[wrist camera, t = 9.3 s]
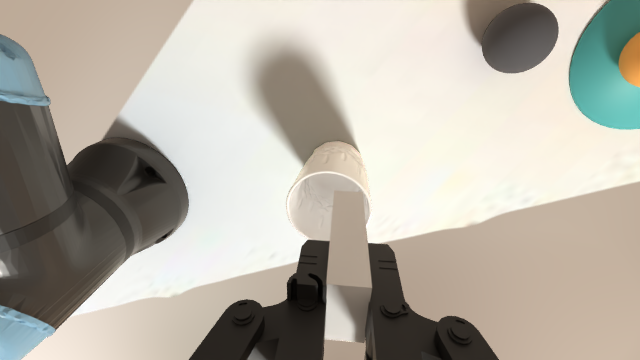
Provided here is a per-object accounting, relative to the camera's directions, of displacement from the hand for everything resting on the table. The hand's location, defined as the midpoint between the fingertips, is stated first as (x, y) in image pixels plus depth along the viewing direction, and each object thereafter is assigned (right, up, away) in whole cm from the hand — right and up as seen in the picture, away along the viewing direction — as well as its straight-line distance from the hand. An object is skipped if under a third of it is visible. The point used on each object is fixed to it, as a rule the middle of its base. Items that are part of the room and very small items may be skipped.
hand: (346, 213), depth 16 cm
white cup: (+1, +3, +20) cm, 21 cm away
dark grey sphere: (+16, +14, +10) cm, 23 cm away
